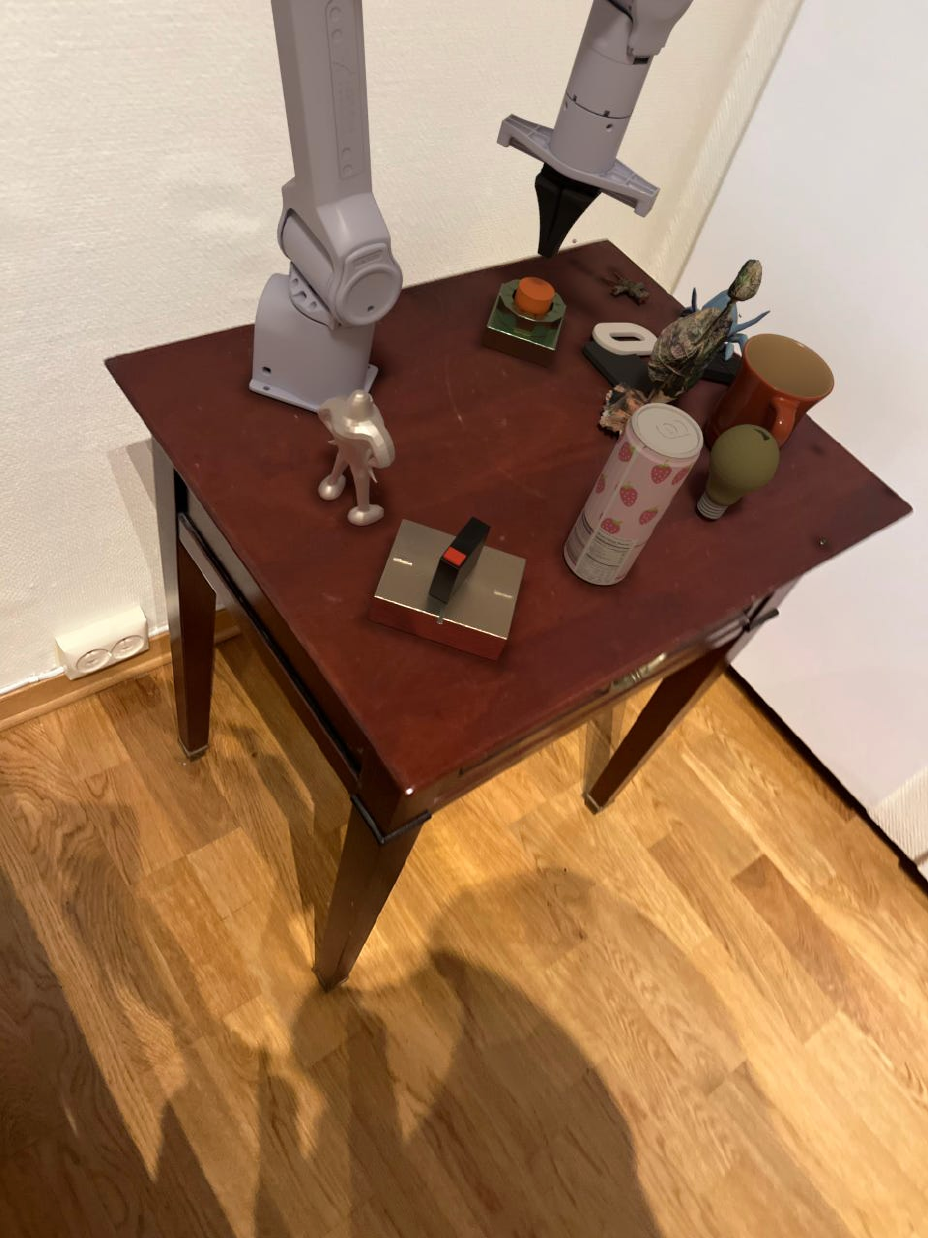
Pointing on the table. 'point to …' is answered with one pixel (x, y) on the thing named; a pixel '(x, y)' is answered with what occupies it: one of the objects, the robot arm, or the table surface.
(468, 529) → the knob
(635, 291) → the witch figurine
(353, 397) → the figurine
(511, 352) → the button block
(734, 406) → the mug
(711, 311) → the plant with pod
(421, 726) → the table surface
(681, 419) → the beverage can
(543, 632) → the table surface
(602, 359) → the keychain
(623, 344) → the chain link
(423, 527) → the panel
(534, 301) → the button
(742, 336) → the figurine
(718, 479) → the light bulb
